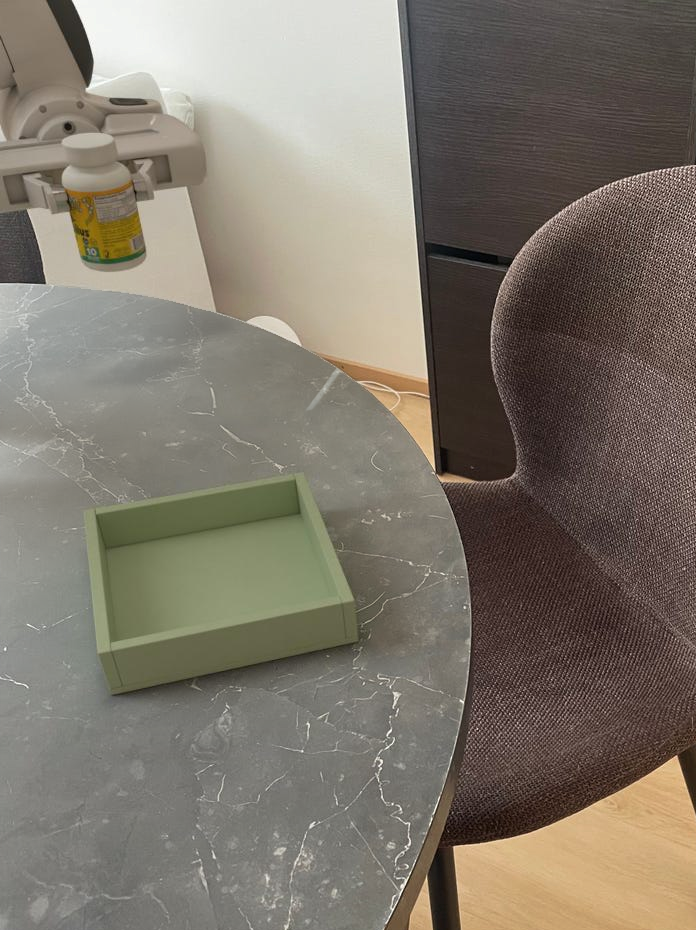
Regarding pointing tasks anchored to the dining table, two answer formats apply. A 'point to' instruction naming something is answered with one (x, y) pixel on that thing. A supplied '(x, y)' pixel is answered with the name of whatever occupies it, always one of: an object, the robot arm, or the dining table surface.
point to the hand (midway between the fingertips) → (102, 197)
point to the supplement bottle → (102, 204)
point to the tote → (214, 582)
